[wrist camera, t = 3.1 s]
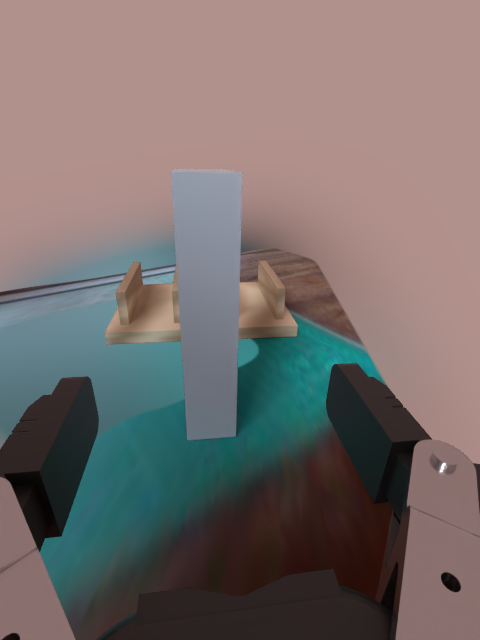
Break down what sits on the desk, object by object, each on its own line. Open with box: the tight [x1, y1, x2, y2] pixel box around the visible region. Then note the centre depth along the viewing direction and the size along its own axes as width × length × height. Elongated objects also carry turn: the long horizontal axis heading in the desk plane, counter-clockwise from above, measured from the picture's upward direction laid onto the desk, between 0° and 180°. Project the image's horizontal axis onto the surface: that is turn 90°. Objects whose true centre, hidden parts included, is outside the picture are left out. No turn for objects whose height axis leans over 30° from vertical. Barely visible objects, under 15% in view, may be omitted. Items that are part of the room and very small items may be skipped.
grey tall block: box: [171, 169, 242, 440], centre depth 20 cm, size 3×6×15 cm, turn 7°
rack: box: [105, 261, 298, 344], centre depth 36 cm, size 18×13×4 cm
